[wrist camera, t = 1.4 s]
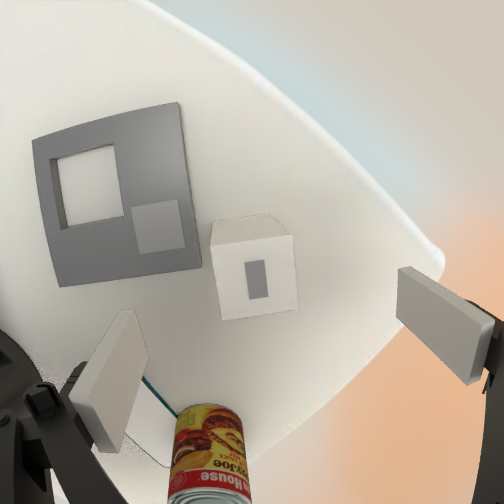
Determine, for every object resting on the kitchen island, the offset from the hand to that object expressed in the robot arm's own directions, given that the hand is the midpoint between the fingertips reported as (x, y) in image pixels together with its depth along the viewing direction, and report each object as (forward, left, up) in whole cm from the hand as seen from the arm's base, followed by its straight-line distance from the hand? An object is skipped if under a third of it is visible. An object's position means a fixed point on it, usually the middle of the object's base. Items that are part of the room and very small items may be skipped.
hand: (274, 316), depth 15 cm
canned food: (-7, -21, -15) cm, 27 cm away
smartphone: (-14, -20, -15) cm, 29 cm away
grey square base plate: (-11, +6, -14) cm, 19 cm away
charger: (0, 0, -14) cm, 14 cm away
